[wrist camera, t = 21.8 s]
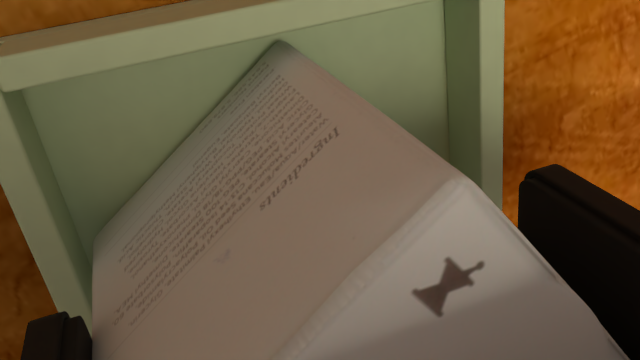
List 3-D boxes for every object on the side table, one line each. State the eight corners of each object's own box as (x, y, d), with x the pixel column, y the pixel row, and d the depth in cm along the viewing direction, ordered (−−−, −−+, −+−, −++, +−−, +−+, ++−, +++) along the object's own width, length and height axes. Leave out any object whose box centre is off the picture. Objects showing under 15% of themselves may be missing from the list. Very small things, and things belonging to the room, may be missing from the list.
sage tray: (129, 415, 16) (131, 477, 14) (-28, 42, 11) (-54, 67, 9) (463, 299, 18) (501, 340, 16) (454, -52, 13) (506, -46, 11)
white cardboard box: (86, 236, 12) (65, 572, 6) (281, 30, 12) (473, 166, 6) (277, 354, 16) (393, 659, 9) (438, 194, 15) (676, 400, 9)
